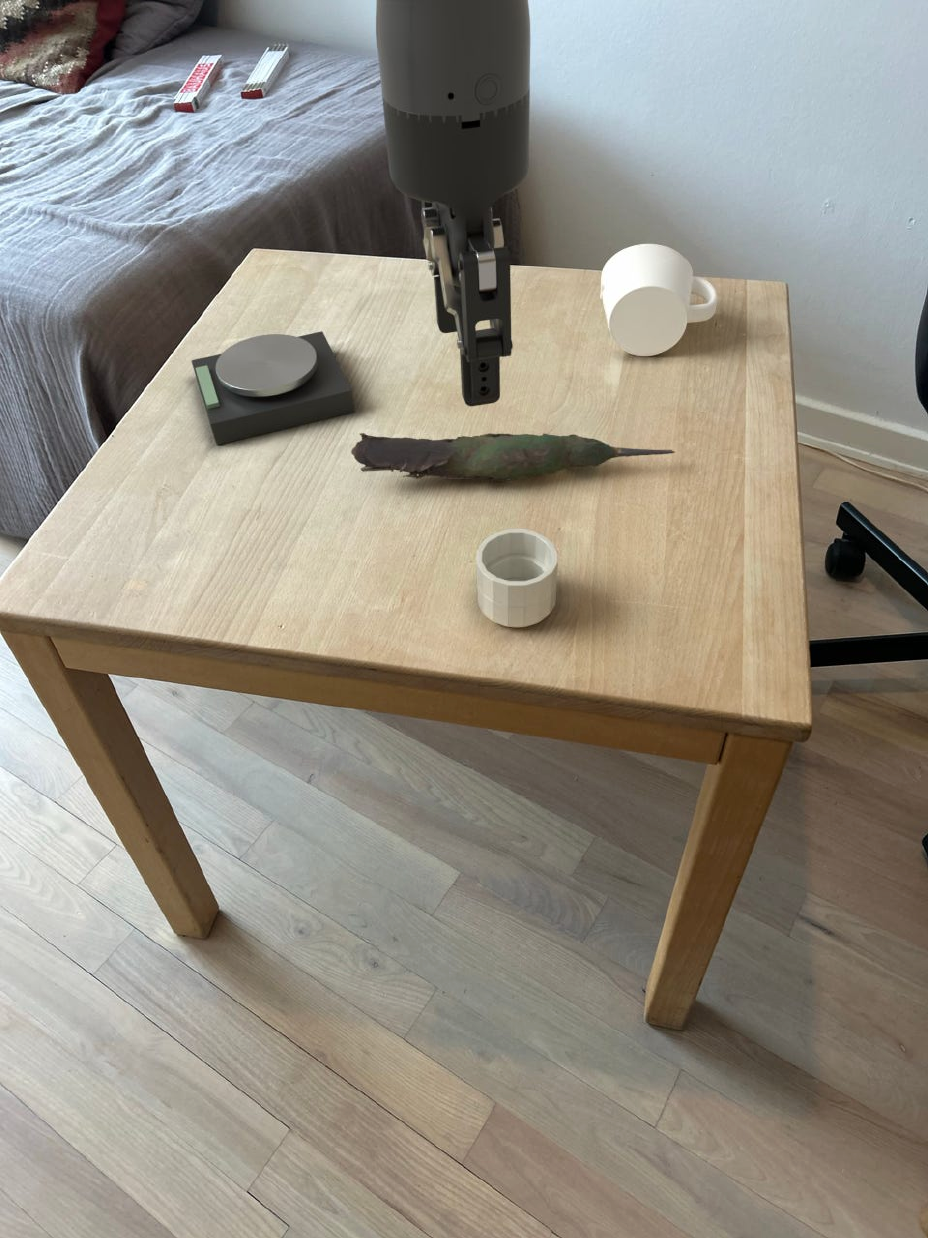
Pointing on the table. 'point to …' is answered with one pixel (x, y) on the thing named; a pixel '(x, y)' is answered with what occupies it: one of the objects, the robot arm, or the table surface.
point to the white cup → (516, 577)
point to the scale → (274, 398)
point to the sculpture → (487, 455)
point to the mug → (652, 298)
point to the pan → (266, 365)
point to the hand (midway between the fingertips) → (467, 363)
